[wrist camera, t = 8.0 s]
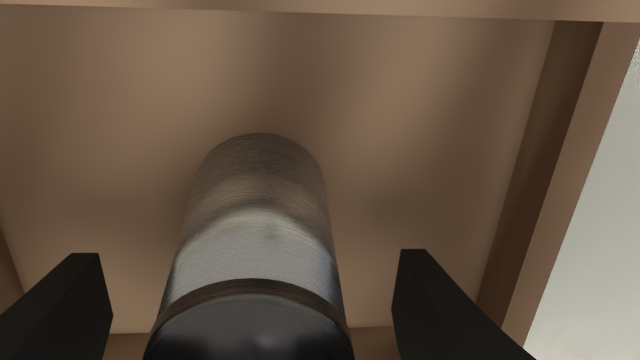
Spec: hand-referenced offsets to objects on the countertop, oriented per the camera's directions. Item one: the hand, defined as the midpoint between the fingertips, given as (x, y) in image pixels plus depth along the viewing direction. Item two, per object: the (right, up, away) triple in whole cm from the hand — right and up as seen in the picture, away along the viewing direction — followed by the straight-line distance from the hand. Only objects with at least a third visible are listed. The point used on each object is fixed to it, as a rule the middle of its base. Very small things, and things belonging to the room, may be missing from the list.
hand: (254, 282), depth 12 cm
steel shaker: (0, +2, +3) cm, 4 cm away
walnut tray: (0, +2, +4) cm, 4 cm away
